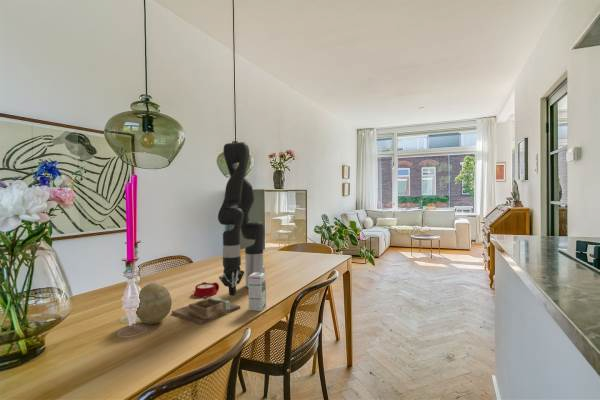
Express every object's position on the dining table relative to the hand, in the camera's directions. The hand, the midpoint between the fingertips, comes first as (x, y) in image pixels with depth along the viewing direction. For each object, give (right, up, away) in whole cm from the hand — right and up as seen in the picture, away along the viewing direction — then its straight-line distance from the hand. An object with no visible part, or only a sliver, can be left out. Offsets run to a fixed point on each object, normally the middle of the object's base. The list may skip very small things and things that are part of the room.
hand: (232, 295), depth 142 cm
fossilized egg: (-26, -5, -18) cm, 32 cm away
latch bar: (-4, -3, -6) cm, 8 cm away
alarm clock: (-16, -5, +19) cm, 26 cm away
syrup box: (+11, -5, -3) cm, 13 cm away
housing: (-9, -5, -6) cm, 12 cm away
